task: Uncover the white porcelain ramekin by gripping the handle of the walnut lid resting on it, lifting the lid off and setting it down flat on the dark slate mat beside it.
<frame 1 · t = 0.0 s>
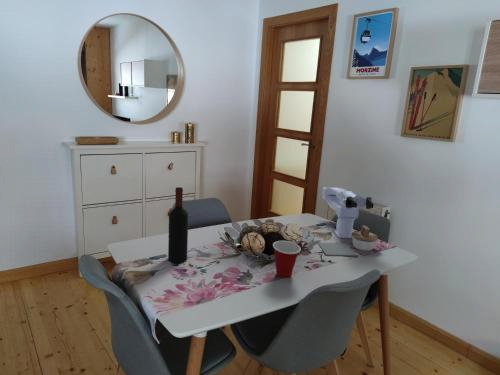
hand: (364, 205, 171), 22 cm above the table, tool horizontal, fingers open, 7 cm apart
plastic cup: (284, 274, 147), on the table
wine bottle: (177, 259, 154), on the table
mat: (336, 249, 175), on the table
ramekin: (362, 247, 181), on the table, touching lid
lid: (364, 236, 179), point 5 cm above the table, touching ramekin
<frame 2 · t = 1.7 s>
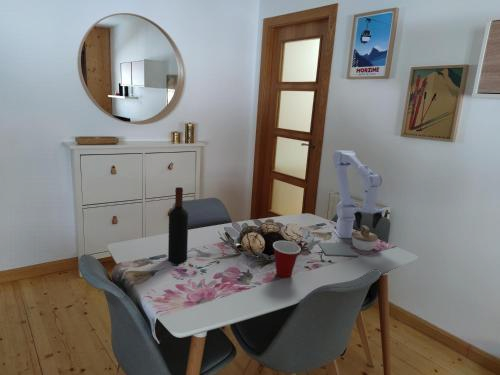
hand: (365, 227, 178), 10 cm above the table, tool pointing down, fingers open, 7 cm apart
nothing on the table moved.
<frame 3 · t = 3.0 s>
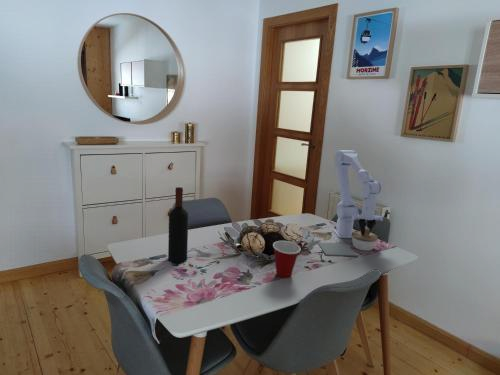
hand: (364, 234, 179), 6 cm above the table, tool pointing down, fingers closed on lid
lid: (364, 236, 179), point 5 cm above the table, touching gripper, ramekin
everything else where it was.
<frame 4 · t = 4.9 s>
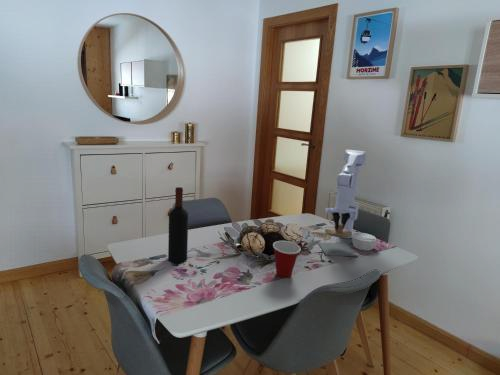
hand: (339, 228, 173), 10 cm above the table, tool pointing down, fingers closed on lid
ramekin: (362, 247, 181), on the table
lid: (338, 233, 173), point 8 cm above the table, touching gripper
everything else where it was.
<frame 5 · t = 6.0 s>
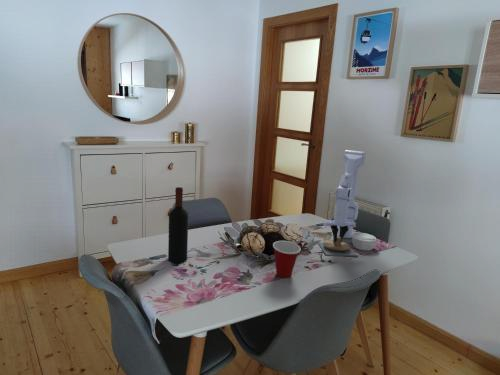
hand: (337, 241, 174), 4 cm above the table, tool pointing down, fingers closed on lid
lid: (336, 246, 175), point 2 cm above the table, touching gripper
everything else where it was.
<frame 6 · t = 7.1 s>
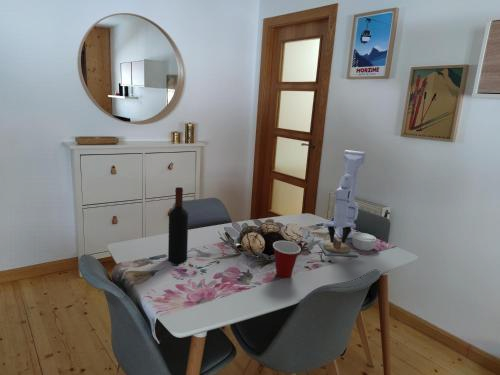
hand: (337, 242, 174), 4 cm above the table, tool pointing down, fingers open, 5 cm apart
lid: (336, 248, 175), resting on mat
everything else where it was.
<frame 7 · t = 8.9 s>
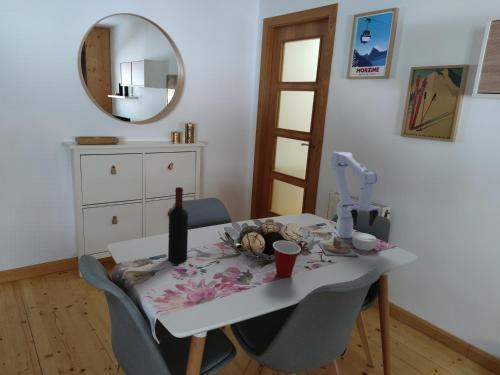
hand: (362, 225, 179), 10 cm above the table, tool pointing down, fingers open, 7 cm apart
nothing on the table moved.
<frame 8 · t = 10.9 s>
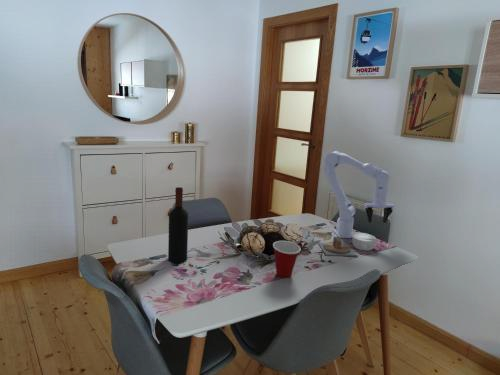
hand: (376, 222, 185), 10 cm above the table, tool pointing down, fingers open, 7 cm apart
nothing on the table moved.
at the end: lid inside the target area on the mat (0.3 cm from its centre), point 0.5 cm above the mat's base; lid touching mat; ramekin moved 0.4 cm from its start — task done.
